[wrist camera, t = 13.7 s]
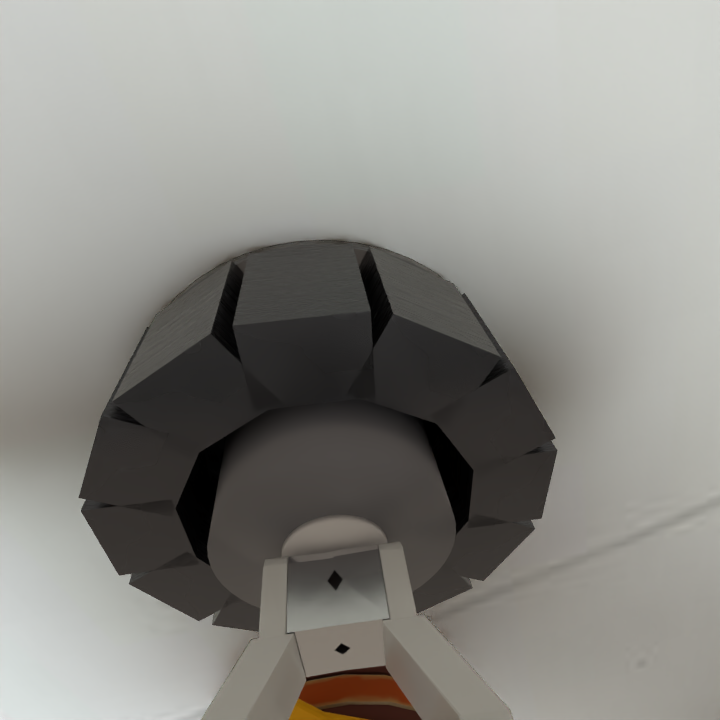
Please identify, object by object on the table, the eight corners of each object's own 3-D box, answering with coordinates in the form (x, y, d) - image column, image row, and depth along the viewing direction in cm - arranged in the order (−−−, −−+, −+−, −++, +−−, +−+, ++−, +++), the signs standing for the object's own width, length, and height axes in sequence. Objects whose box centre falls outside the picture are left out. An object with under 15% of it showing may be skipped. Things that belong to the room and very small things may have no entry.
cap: (415, 330, 13) (465, 451, 9) (415, 472, 16) (453, 606, 12) (210, 354, 13) (173, 489, 9) (250, 494, 16) (235, 639, 12)
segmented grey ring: (515, 220, 12) (595, 286, 9) (480, 503, 18) (521, 605, 15) (74, 263, 12) (-14, 351, 8) (190, 541, 18) (167, 656, 15)
